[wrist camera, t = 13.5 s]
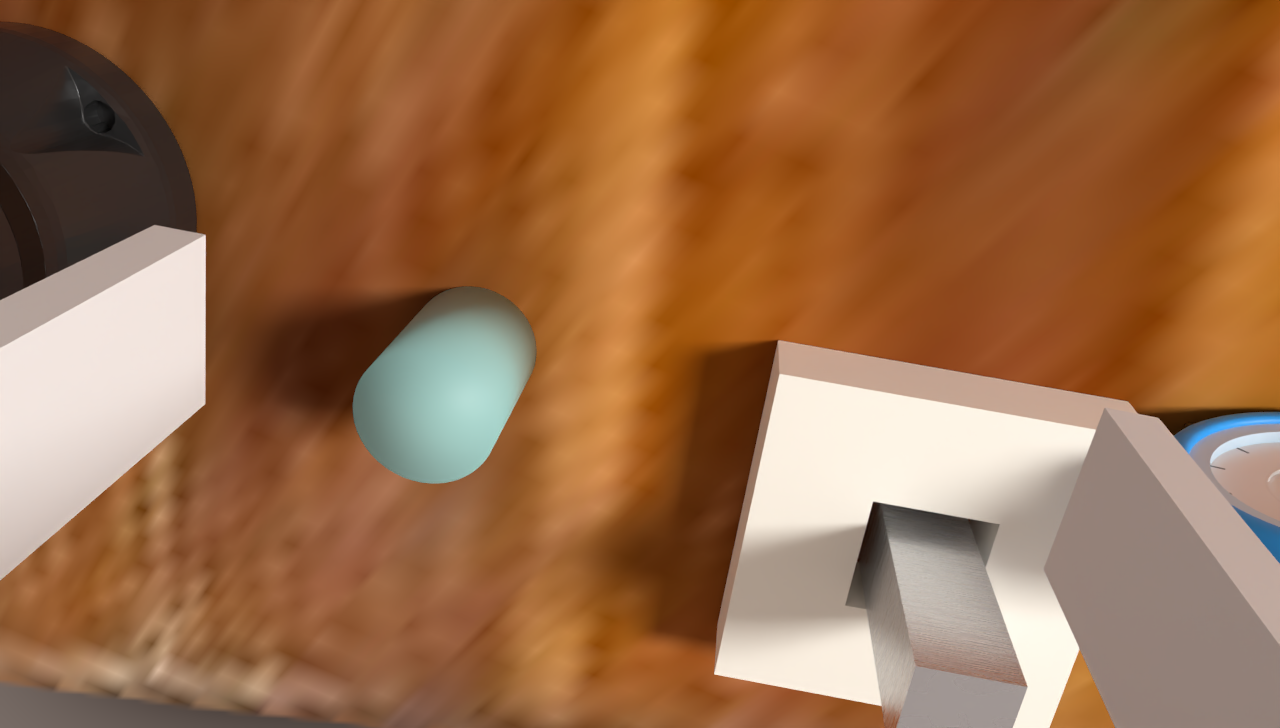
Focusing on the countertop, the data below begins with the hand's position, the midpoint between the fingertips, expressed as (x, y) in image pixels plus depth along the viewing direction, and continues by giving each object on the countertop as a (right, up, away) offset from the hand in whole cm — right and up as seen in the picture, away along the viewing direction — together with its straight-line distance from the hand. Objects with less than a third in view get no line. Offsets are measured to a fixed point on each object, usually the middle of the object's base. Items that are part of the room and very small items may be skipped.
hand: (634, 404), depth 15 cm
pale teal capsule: (-8, +1, +35) cm, 35 cm away
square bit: (+13, -7, +36) cm, 39 cm away
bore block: (+13, -7, +36) cm, 39 cm away
